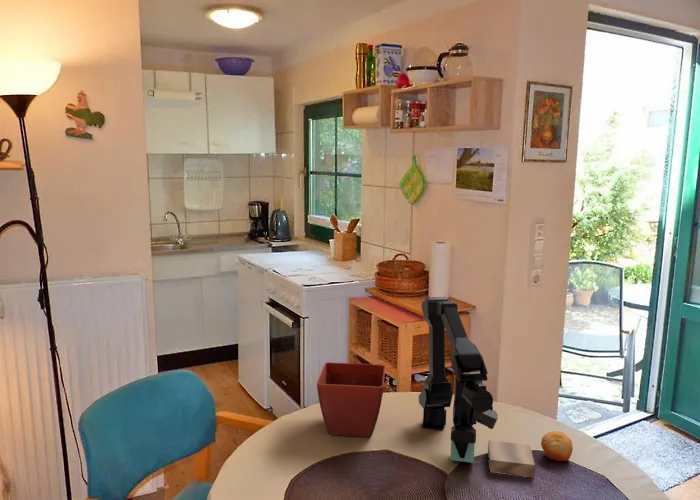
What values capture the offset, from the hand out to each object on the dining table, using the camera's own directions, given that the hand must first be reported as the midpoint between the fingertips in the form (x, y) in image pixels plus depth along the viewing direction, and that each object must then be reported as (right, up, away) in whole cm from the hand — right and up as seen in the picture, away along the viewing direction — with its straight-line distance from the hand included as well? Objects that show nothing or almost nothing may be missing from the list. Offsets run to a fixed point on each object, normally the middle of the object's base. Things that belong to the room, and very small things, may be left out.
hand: (462, 452), depth 150 cm
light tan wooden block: (+12, -3, -1) cm, 13 cm away
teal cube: (0, -1, 0) cm, 1 cm away
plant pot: (-30, 0, +19) cm, 35 cm away
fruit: (+26, -3, +3) cm, 26 cm away
